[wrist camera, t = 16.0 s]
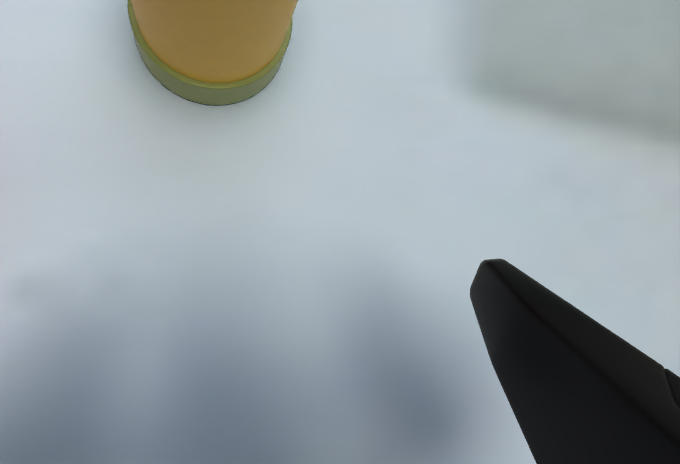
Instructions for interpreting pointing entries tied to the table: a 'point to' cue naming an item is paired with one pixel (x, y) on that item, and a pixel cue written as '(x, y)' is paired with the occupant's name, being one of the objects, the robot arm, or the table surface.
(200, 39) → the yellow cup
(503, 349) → the robot arm
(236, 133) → the table surface
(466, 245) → the table surface
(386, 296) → the table surface
